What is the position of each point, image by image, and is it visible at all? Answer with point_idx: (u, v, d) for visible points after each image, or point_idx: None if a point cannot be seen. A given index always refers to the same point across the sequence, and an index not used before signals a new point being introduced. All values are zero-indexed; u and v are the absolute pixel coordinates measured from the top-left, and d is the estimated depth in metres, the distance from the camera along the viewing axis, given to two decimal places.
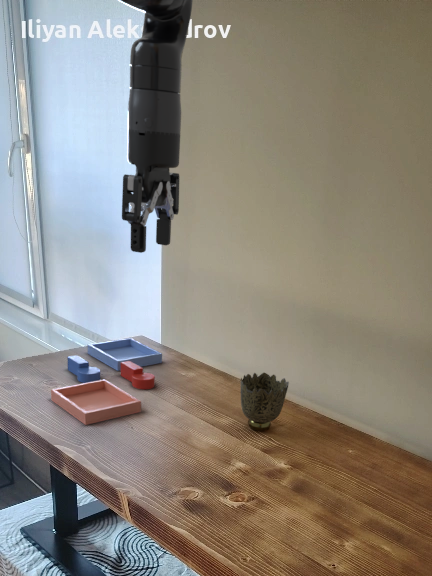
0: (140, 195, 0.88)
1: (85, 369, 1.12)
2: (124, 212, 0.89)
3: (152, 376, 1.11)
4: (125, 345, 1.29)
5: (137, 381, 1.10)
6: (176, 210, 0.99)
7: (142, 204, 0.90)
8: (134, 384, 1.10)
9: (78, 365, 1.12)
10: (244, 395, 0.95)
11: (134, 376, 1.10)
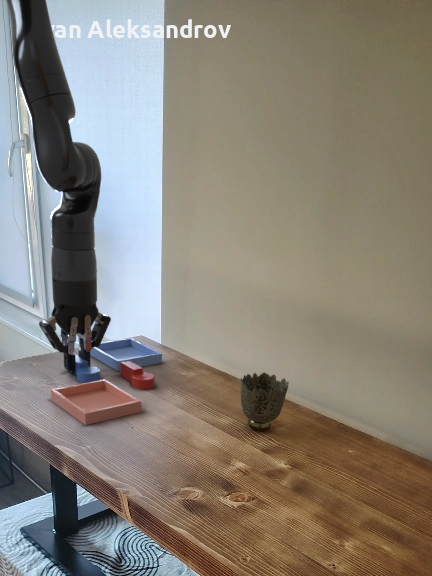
0: (54, 335, 1.08)
1: (85, 368, 1.12)
2: (52, 345, 1.11)
3: (152, 376, 1.11)
4: (125, 345, 1.29)
5: (137, 381, 1.10)
6: (96, 342, 1.14)
7: (66, 338, 1.10)
8: (134, 384, 1.10)
9: (77, 365, 1.12)
10: (244, 395, 0.95)
11: (134, 376, 1.10)
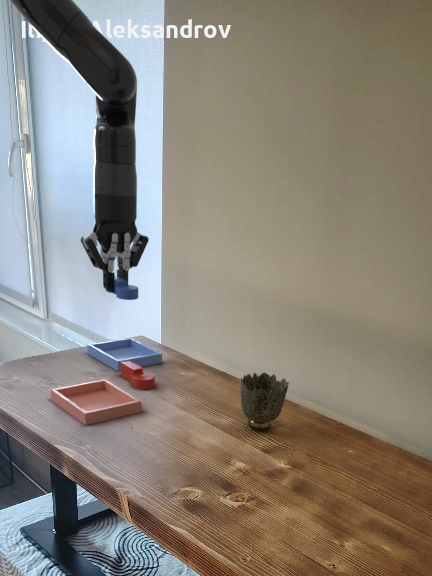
0: (96, 251, 1.11)
1: (124, 286, 1.15)
2: (93, 263, 1.14)
3: (152, 376, 1.11)
4: (125, 345, 1.29)
5: (137, 381, 1.10)
6: (134, 262, 1.17)
7: (106, 255, 1.13)
8: (134, 384, 1.10)
9: (117, 283, 1.15)
10: (244, 395, 0.95)
11: (134, 376, 1.10)
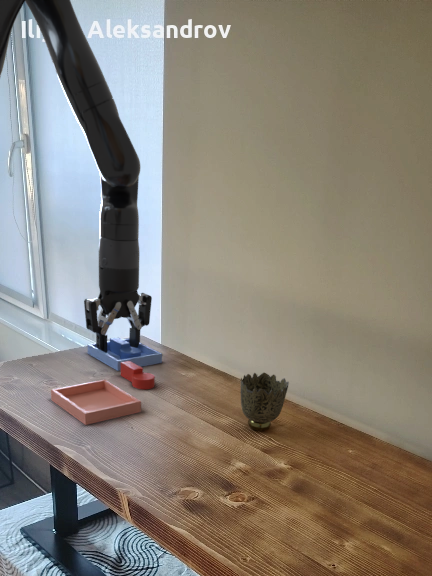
0: (95, 314, 1.17)
1: (127, 349, 1.22)
2: (87, 324, 1.19)
3: (152, 376, 1.11)
4: None
5: (137, 381, 1.10)
6: (145, 322, 1.25)
7: (104, 318, 1.19)
8: (134, 384, 1.10)
9: (120, 346, 1.22)
10: (244, 395, 0.95)
11: (134, 376, 1.10)
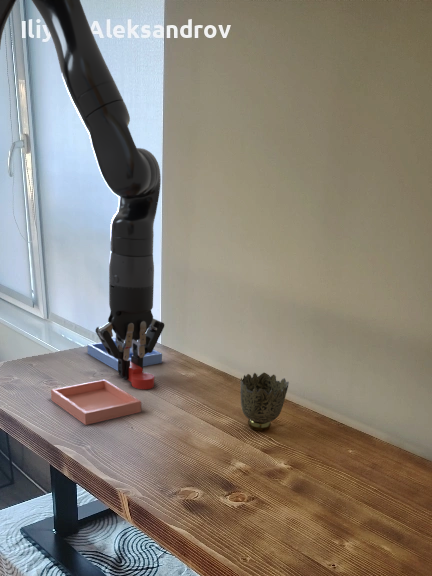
0: (111, 341, 1.07)
1: None
2: (108, 351, 1.10)
3: (152, 376, 1.11)
4: None
5: (136, 381, 1.10)
6: (149, 348, 1.13)
7: (121, 344, 1.10)
8: (134, 384, 1.10)
9: None
10: (244, 395, 0.95)
11: (133, 376, 1.10)
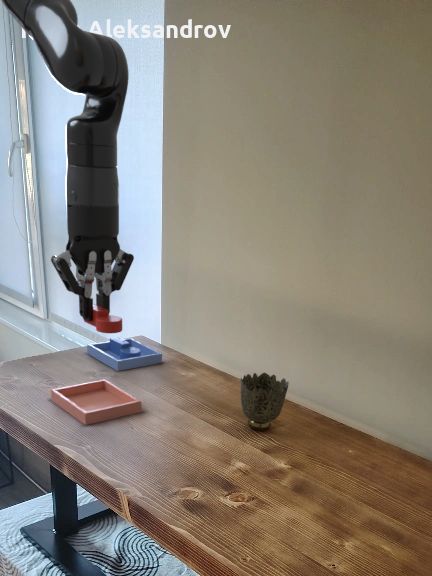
0: (69, 273, 0.92)
1: (127, 349, 1.22)
2: (66, 286, 0.94)
3: (119, 318, 0.96)
4: None
5: (101, 323, 0.94)
6: (116, 285, 0.97)
7: (82, 277, 0.94)
8: (98, 327, 0.95)
9: (120, 346, 1.22)
10: (244, 395, 0.95)
11: (98, 318, 0.95)
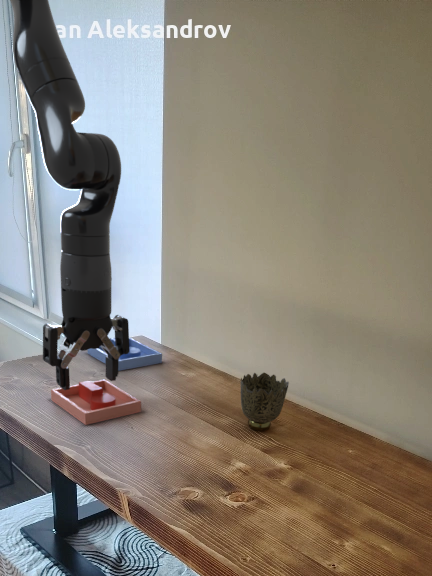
0: (55, 343, 0.94)
1: None
2: (44, 355, 0.96)
3: (112, 398, 1.00)
4: None
5: (95, 404, 0.99)
6: (124, 350, 1.03)
7: (66, 349, 0.97)
8: (92, 407, 0.99)
9: None
10: (244, 395, 0.95)
11: (92, 398, 0.99)
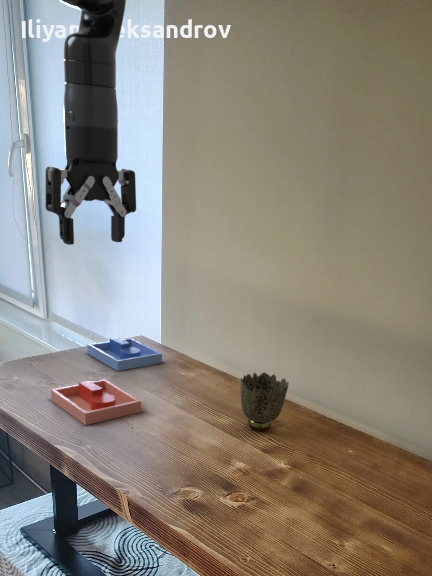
0: (58, 187, 0.89)
1: (127, 349, 1.22)
2: (47, 203, 0.91)
3: (112, 398, 1.00)
4: None
5: (95, 404, 0.99)
6: (131, 208, 0.98)
7: (70, 197, 0.92)
8: (92, 407, 0.99)
9: (120, 346, 1.22)
10: (244, 395, 0.95)
11: (92, 398, 0.99)
